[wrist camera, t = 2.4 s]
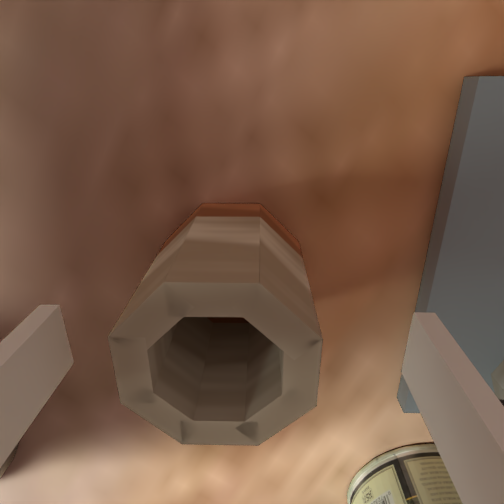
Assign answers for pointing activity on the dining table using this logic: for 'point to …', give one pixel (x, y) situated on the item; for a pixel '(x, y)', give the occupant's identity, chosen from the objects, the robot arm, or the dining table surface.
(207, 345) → the cream sleeve
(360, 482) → the coffee can
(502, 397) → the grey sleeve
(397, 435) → the dining table surface
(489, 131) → the pin board
